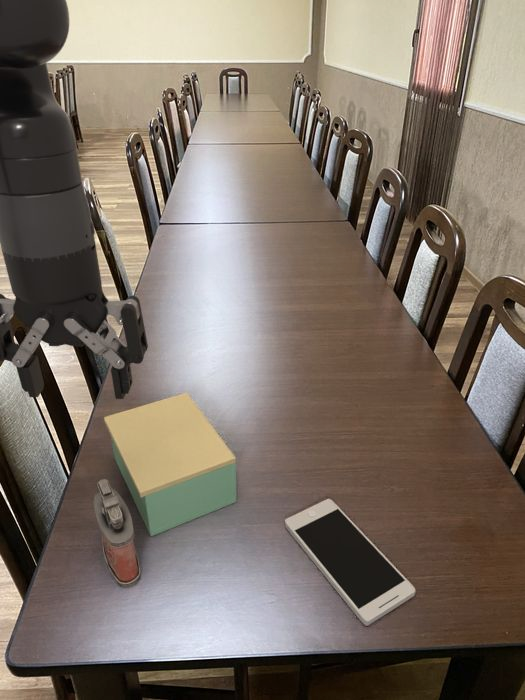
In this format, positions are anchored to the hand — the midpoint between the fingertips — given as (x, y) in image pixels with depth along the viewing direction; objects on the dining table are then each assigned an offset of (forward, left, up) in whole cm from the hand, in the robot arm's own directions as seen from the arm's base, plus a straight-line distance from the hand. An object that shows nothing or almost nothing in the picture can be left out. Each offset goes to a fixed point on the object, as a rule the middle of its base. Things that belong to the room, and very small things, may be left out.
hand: (79, 393), depth 54 cm
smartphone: (+23, -16, -21) cm, 35 cm away
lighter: (0, -4, -21) cm, 22 cm away
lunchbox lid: (+10, +5, -14) cm, 18 cm away
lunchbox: (+10, +5, -21) cm, 24 cm away
